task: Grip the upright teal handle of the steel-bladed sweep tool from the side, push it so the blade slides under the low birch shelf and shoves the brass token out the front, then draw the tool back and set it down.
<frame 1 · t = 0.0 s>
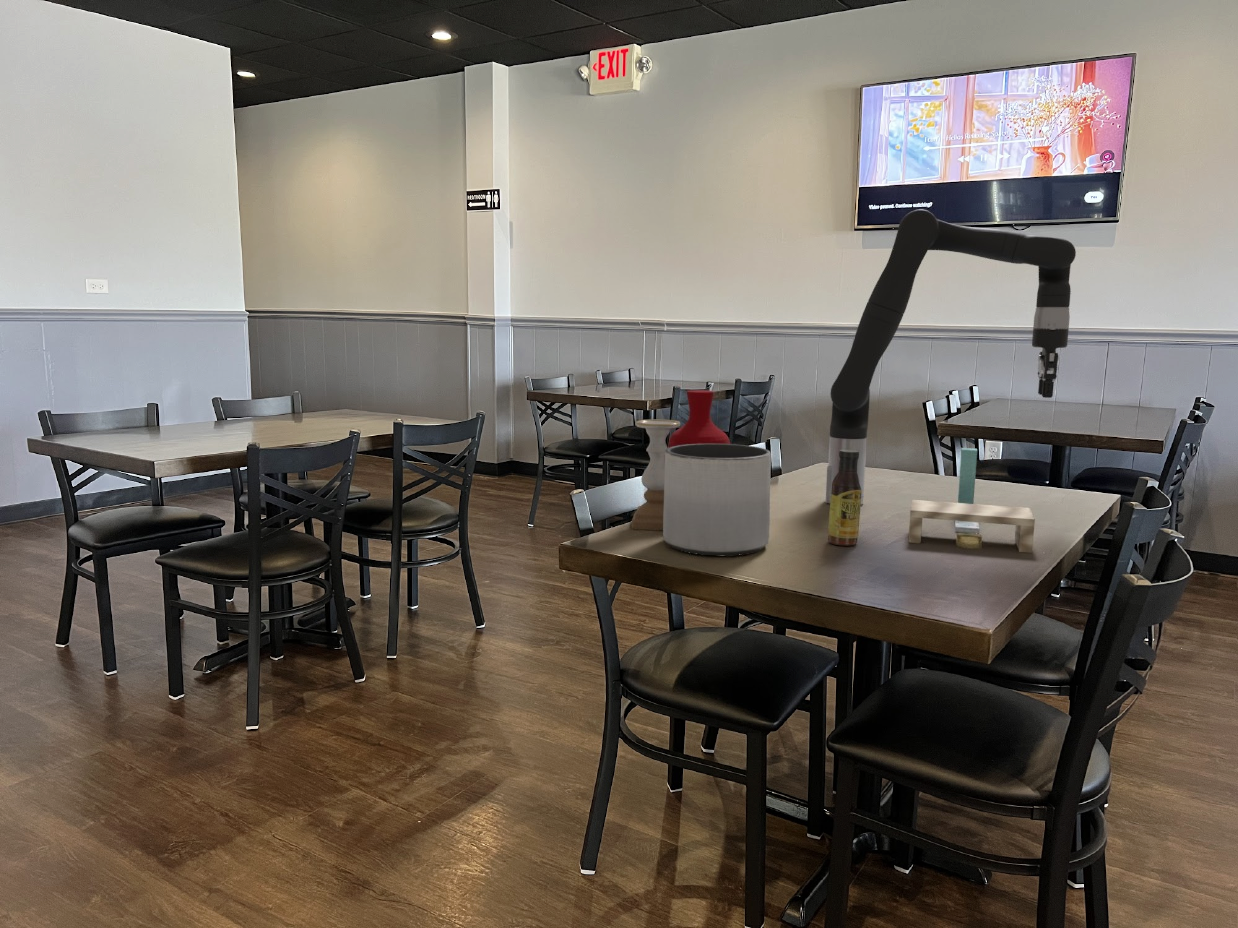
hand: (1045, 396, 209), 29 cm above the table, tool pointing down, fingers open, 8 cm apart
candle holder: (656, 525, 202), on the table
plinth shelf: (968, 540, 189), on the table
vase: (697, 515, 213), on the table
sauce bottle: (843, 544, 186), on the table
planter: (715, 545, 184), on the table
sweep tool: (964, 513, 216), on the table
token: (968, 546, 185), on the table
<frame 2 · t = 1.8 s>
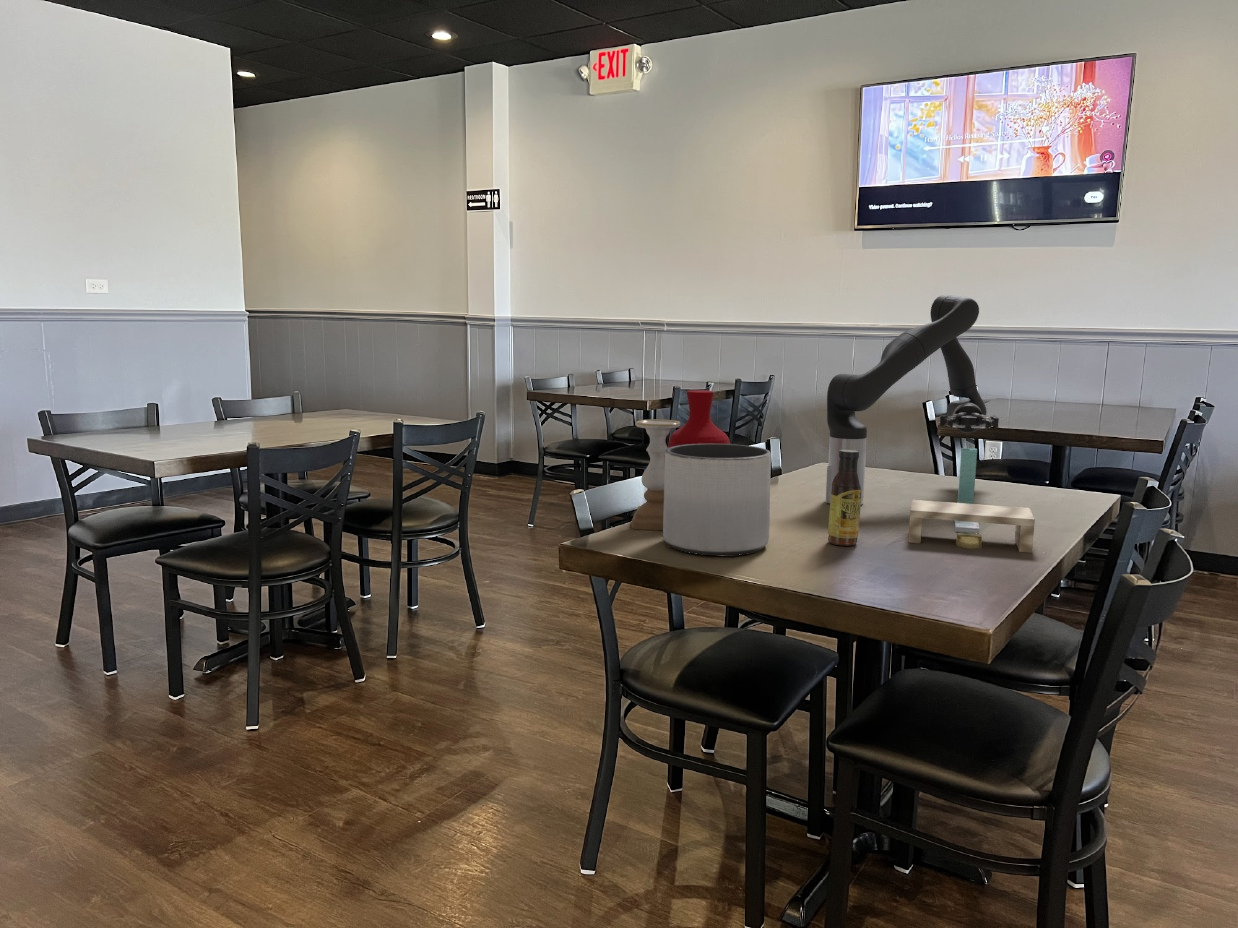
hand: (969, 423, 224), 21 cm above the table, tool horizontal, fingers open, 8 cm apart
nothing on the table moved.
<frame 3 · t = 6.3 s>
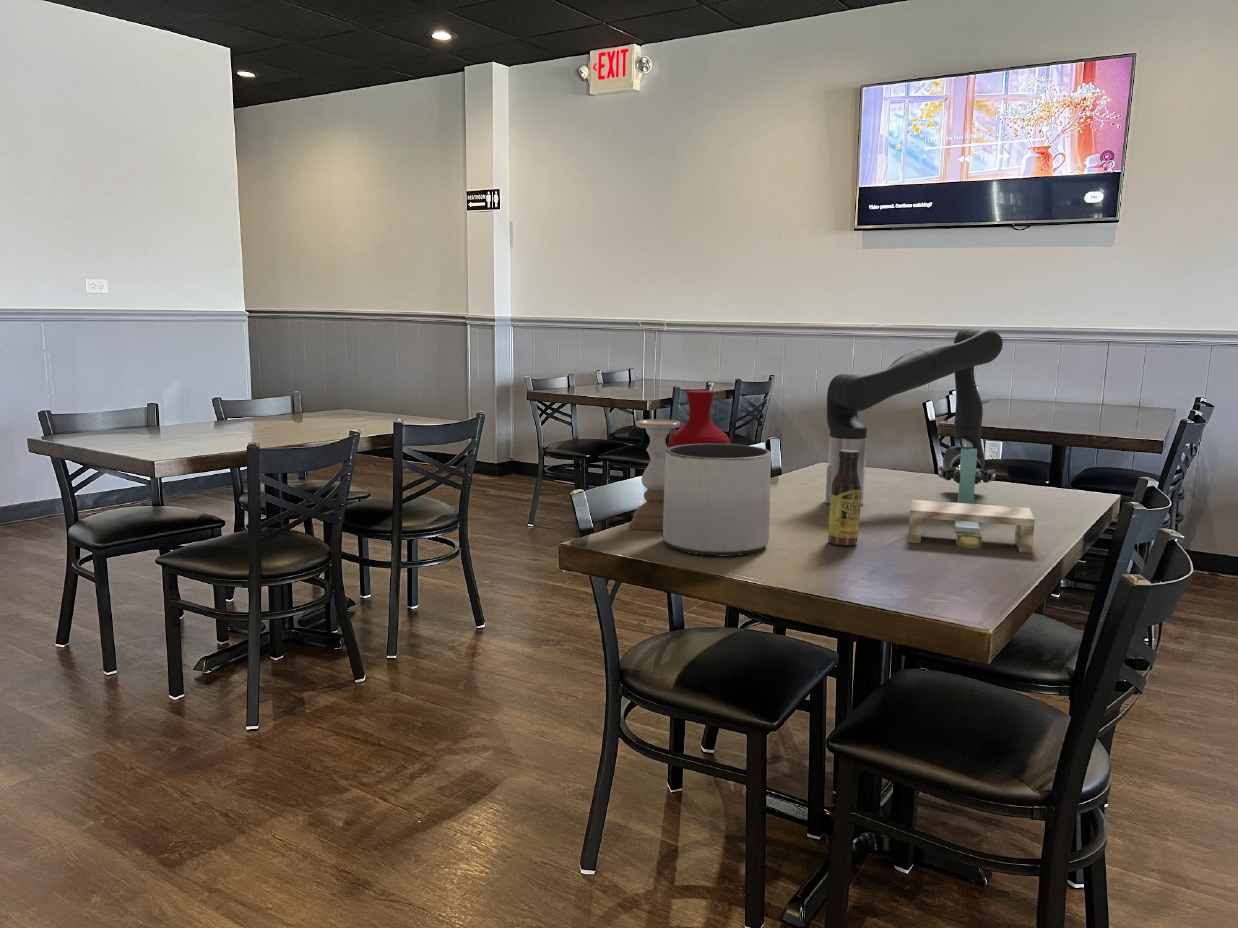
hand: (967, 479, 212), 9 cm above the table, tool horizontal, fingers closed on sweep tool, 3 cm apart
sweep tool: (964, 513, 216), on the table, touching gripper
everything else where it was.
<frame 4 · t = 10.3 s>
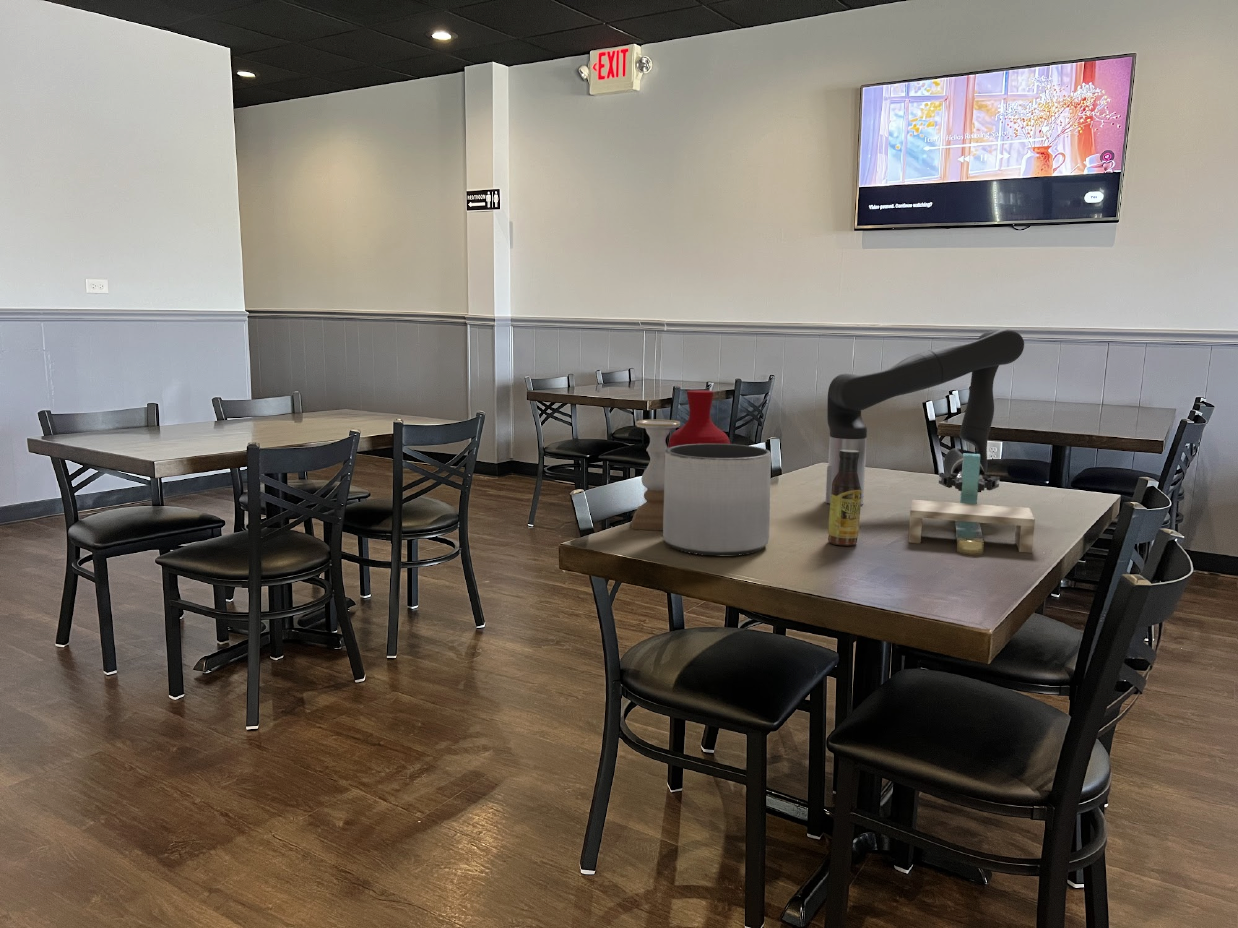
hand: (970, 487, 198), 10 cm above the table, tool horizontal, fingers closed on sweep tool, 3 cm apart
sweep tool: (966, 523, 203), point 1 cm above the table, touching gripper, token
token: (969, 552, 180), on the table, touching sweep tool
everything else where it was.
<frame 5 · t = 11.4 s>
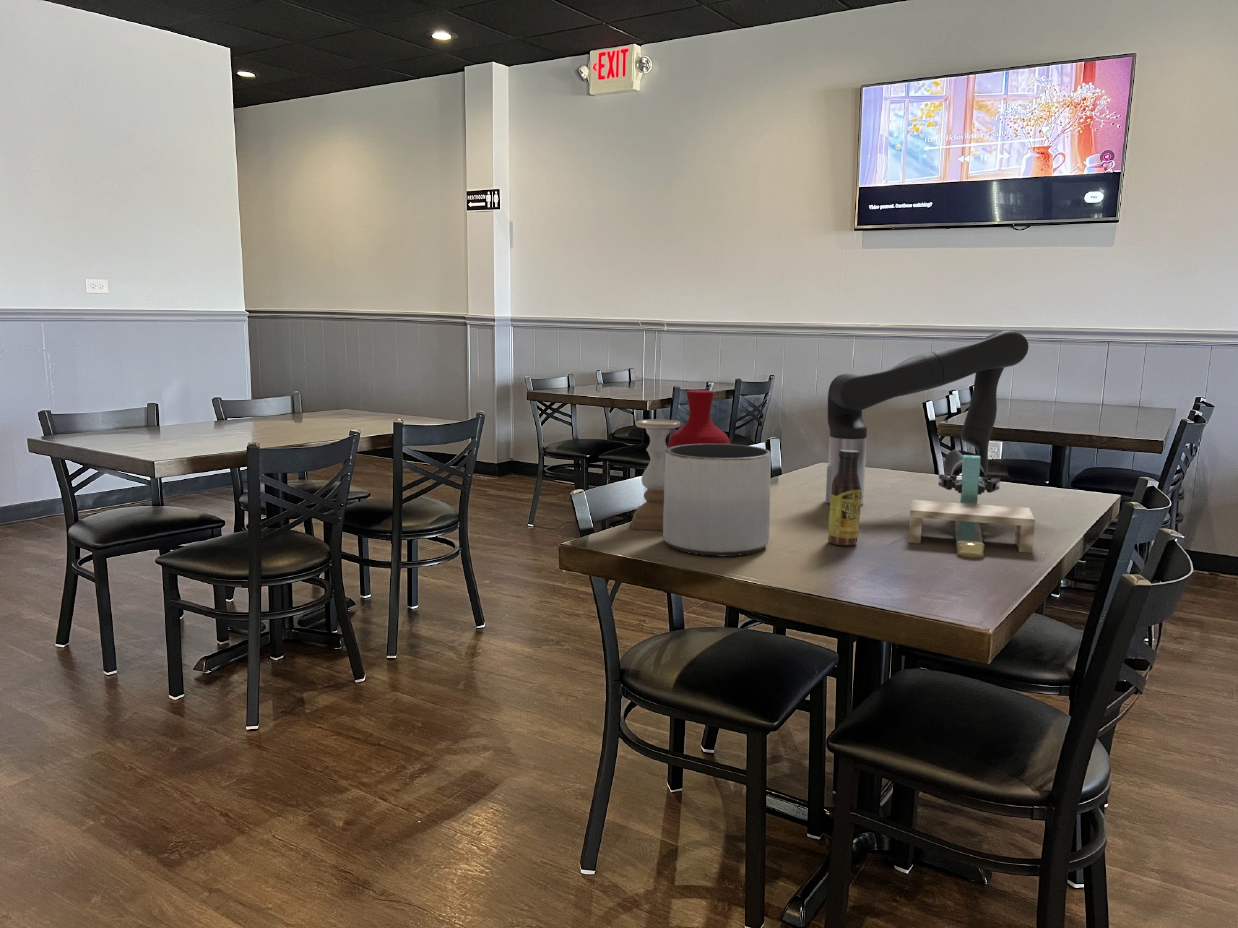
hand: (970, 489, 196), 10 cm above the table, tool horizontal, fingers closed on sweep tool, 3 cm apart
sweep tool: (966, 525, 200), point 1 cm above the table, touching gripper
token: (970, 555, 178), on the table
everything else where it was.
when the fingers open (9 cm above the table, at t = 14.4 s): sweep tool stays where it is, on the table.
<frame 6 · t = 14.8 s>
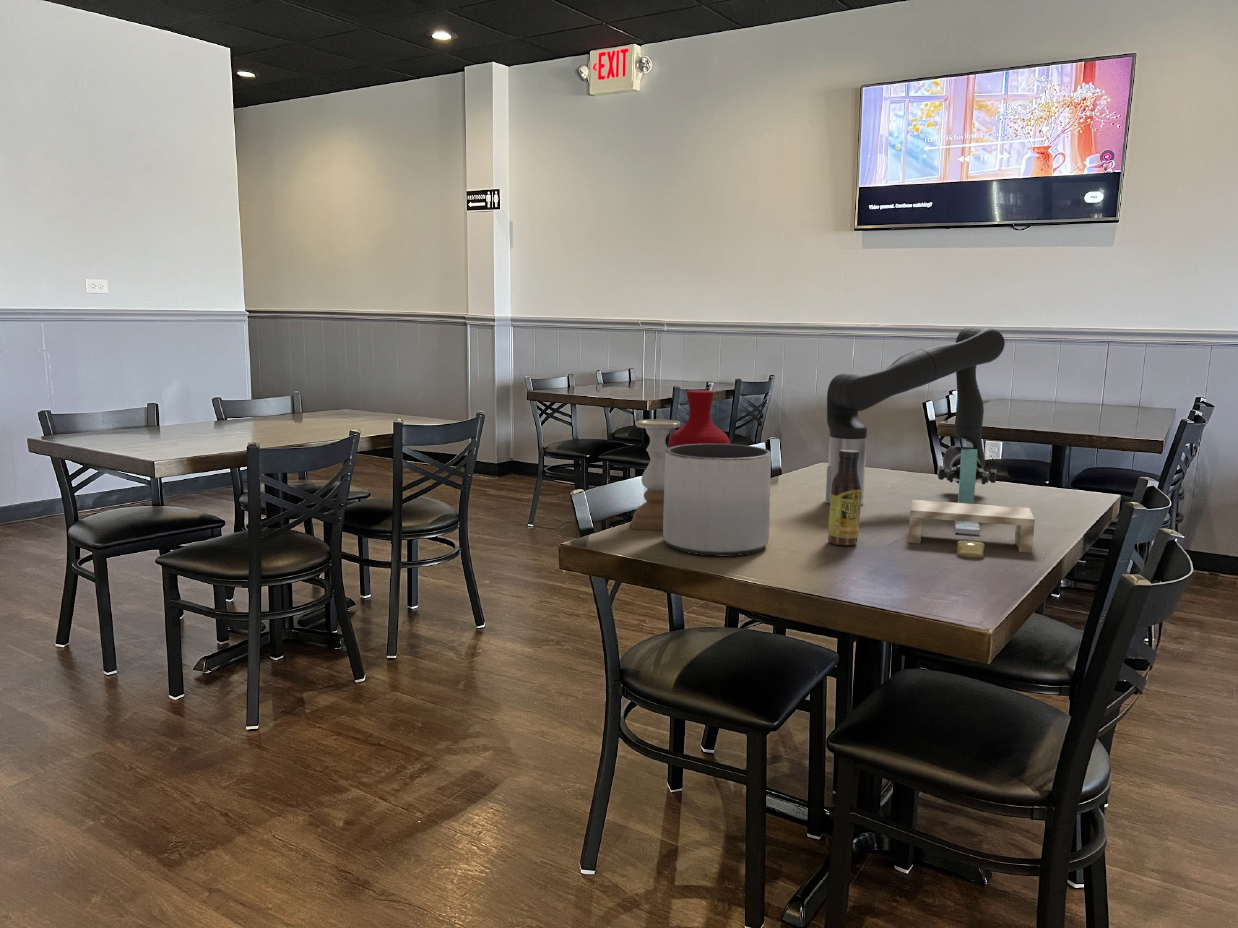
hand: (967, 479, 211), 9 cm above the table, tool horizontal, fingers open, 6 cm apart
sweep tool: (964, 514, 215), on the table
everything else where it was.
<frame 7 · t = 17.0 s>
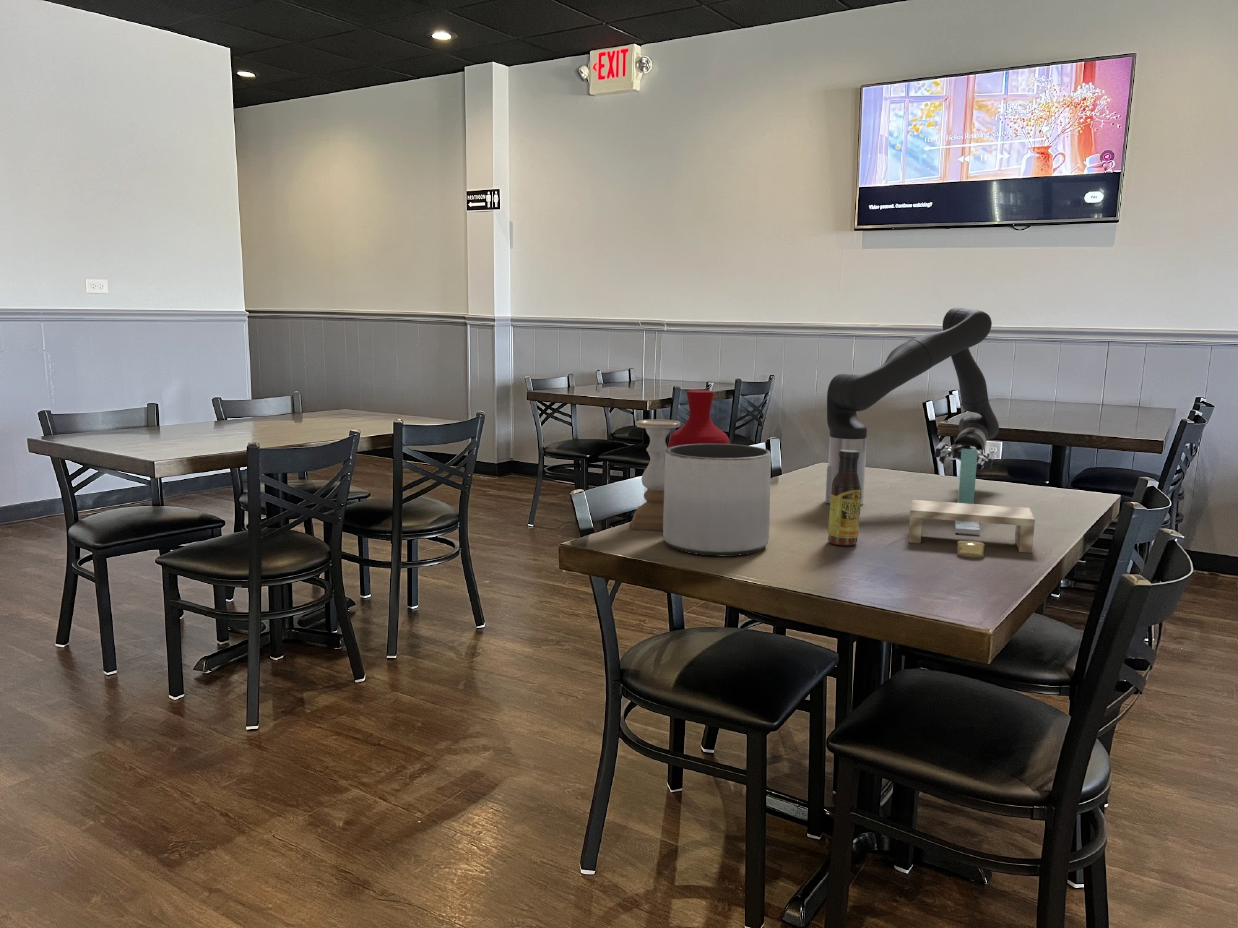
hand: (960, 463, 225), 11 cm above the table, tool horizontal, fingers open, 8 cm apart
nothing on the table moved.
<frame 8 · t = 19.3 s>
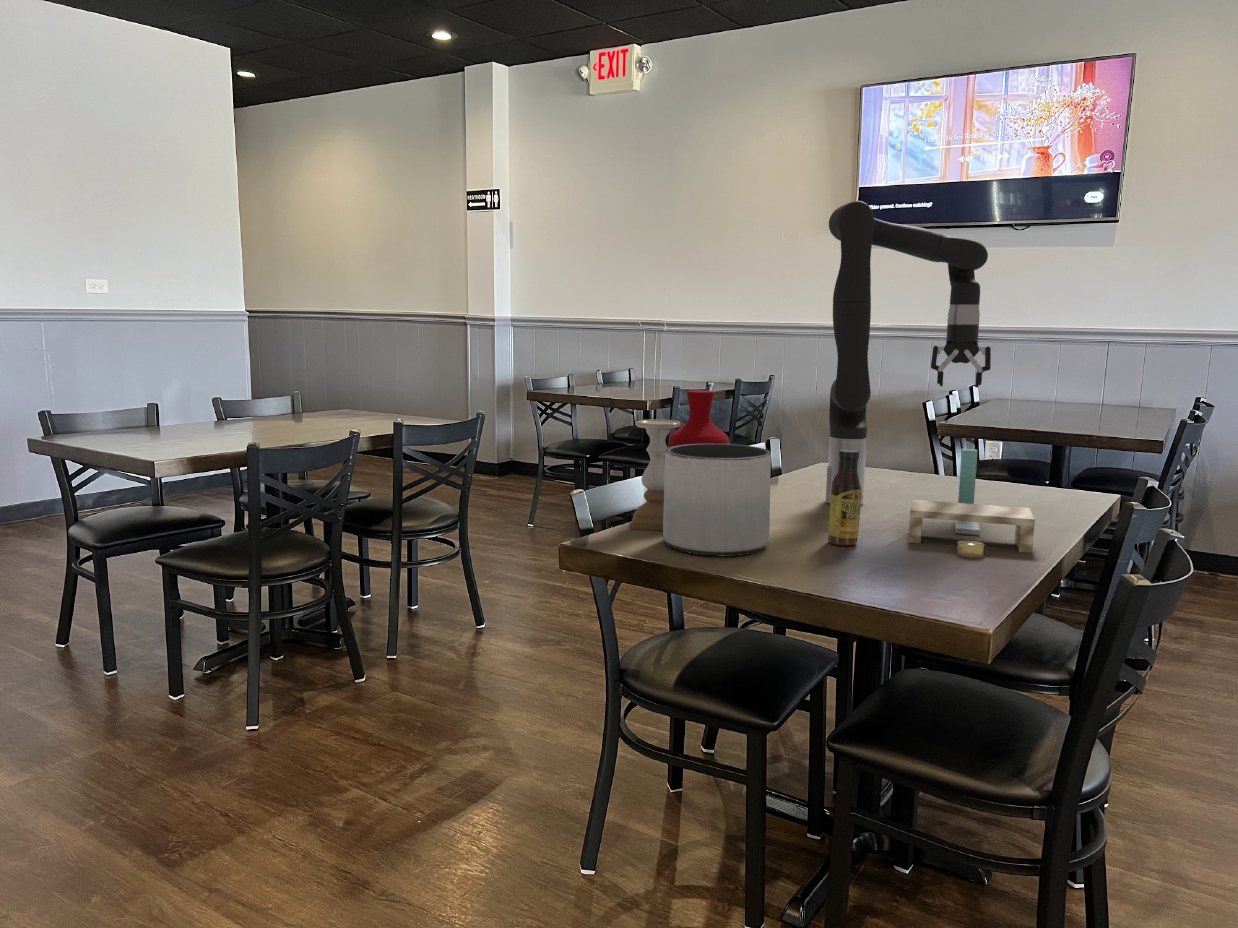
hand: (958, 386, 226), 30 cm above the table, tool pointing down, fingers open, 8 cm apart
nothing on the table moved.
at the end: token inside the target area (7.0 cm from its centre), on the table; the gripper is holding nothing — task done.
